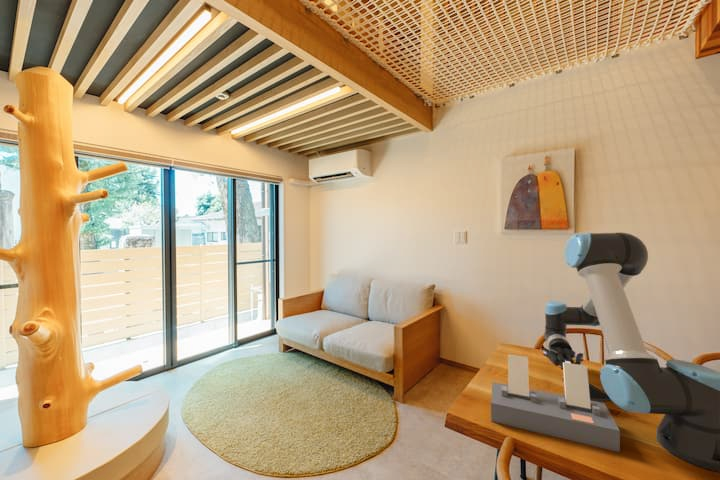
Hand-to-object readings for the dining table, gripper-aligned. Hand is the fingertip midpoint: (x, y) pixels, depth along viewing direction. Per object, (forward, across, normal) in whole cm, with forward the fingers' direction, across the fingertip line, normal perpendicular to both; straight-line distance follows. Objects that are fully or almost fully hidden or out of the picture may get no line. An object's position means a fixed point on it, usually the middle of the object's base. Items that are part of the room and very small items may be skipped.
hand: (571, 373), depth 98 cm
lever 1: (+9, +16, -7) cm, 19 cm away
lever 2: (+9, 0, -7) cm, 11 cm away
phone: (-18, -8, -14) cm, 24 cm away
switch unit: (+9, +8, -13) cm, 18 cm away
